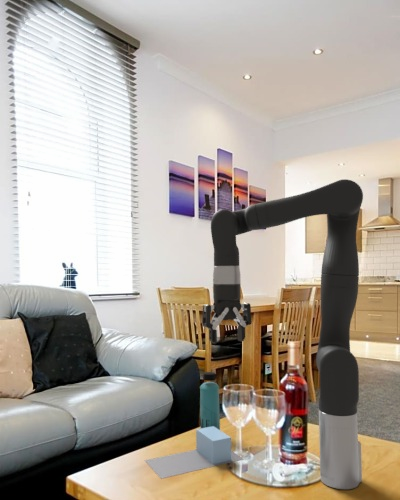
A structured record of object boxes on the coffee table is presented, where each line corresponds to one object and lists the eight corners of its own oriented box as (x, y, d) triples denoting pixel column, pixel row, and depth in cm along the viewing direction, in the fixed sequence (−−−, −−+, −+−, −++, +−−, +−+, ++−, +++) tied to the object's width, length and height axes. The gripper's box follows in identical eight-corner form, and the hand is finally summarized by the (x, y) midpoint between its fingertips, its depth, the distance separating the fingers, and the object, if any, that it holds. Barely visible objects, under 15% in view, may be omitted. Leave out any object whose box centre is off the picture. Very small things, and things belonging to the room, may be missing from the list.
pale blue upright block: (213, 447, 126) (213, 426, 127) (231, 460, 118) (231, 437, 118) (196, 450, 124) (196, 429, 124) (213, 464, 115) (212, 441, 115)
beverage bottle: (222, 433, 142) (221, 370, 143) (217, 440, 135) (216, 375, 136) (203, 431, 143) (202, 369, 145) (197, 438, 137) (196, 374, 138)
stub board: (221, 449, 129) (221, 433, 129) (243, 464, 118) (243, 447, 118) (144, 465, 118) (144, 448, 118) (161, 484, 107) (161, 466, 107)
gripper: (210, 283, 113) (211, 346, 112) (256, 282, 120) (257, 342, 119) (197, 282, 120) (198, 342, 119) (241, 282, 126) (242, 338, 126)
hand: (227, 342), depth 119 cm, fingers open, 8 cm apart
